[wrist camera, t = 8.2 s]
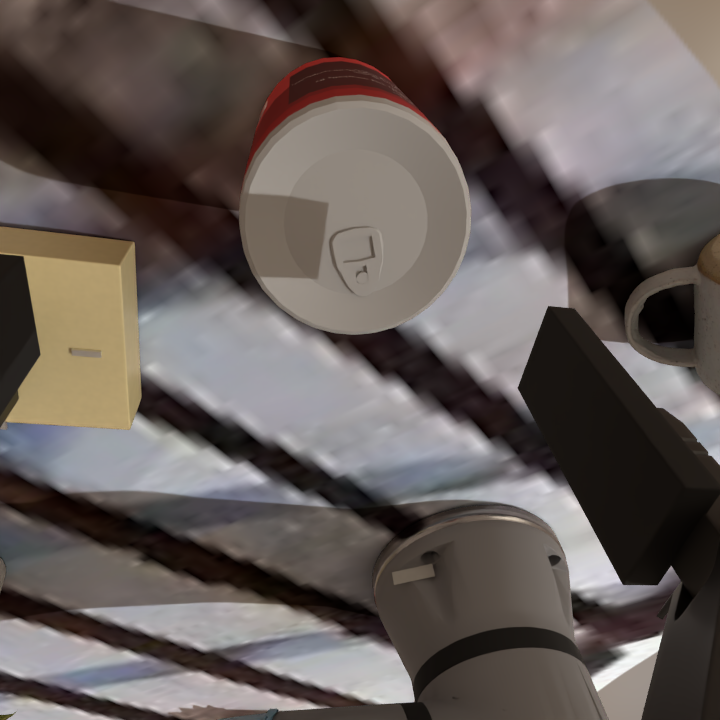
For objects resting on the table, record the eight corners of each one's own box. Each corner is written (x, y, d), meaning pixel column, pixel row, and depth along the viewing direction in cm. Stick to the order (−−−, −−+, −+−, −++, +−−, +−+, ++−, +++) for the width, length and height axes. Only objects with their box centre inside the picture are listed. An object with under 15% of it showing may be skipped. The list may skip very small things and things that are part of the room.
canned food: (304, 250, 31) (308, 368, 22) (223, 102, 26) (185, 171, 17) (438, 187, 29) (504, 283, 20) (377, 21, 25) (424, 49, 16)
